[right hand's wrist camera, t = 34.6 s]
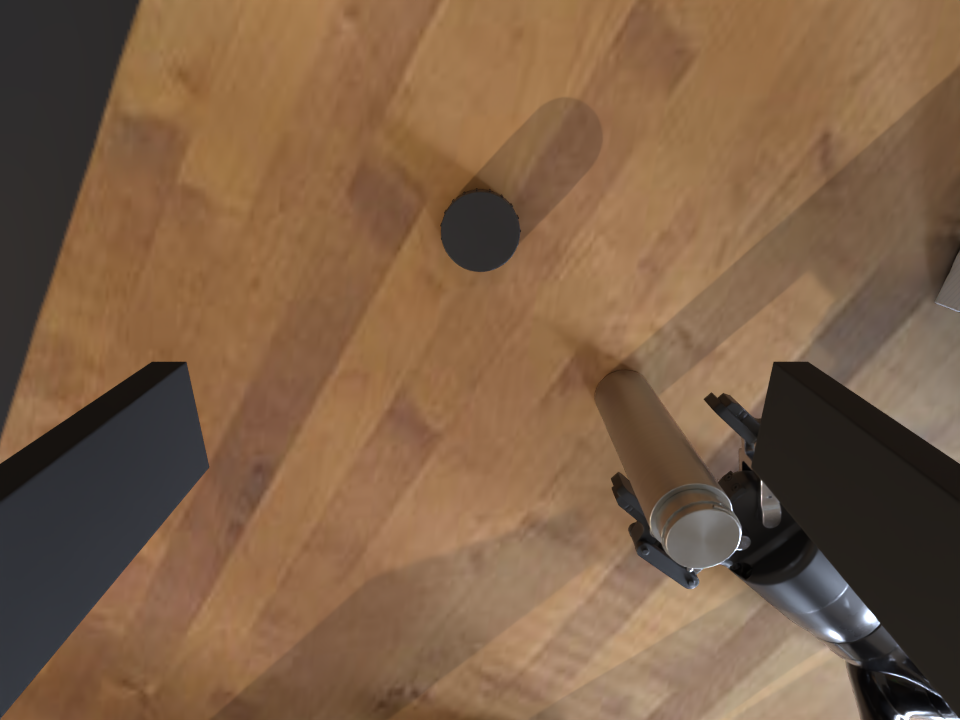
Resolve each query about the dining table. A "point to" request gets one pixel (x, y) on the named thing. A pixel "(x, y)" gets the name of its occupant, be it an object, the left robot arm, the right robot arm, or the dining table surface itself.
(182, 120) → the dining table surface
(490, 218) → the lid
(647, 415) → the bottle
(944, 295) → the hard drive box
